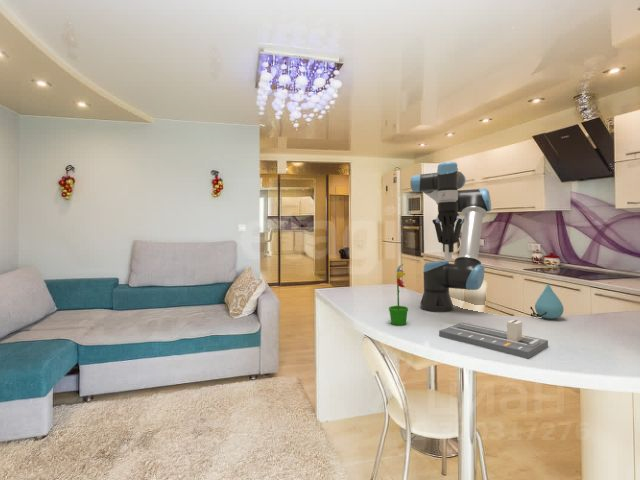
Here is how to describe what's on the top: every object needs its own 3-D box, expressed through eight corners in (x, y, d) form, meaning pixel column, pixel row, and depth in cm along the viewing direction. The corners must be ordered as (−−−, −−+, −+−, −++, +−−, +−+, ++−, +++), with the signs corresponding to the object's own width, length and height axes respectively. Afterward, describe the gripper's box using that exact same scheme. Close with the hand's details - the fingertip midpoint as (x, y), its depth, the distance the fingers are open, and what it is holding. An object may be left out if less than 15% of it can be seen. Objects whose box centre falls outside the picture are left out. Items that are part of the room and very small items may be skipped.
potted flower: (408, 326, 141) (407, 265, 141) (389, 326, 143) (387, 265, 142) (407, 320, 151) (406, 262, 150) (389, 320, 152) (388, 262, 151)
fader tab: (512, 337, 118) (512, 319, 118) (522, 339, 116) (521, 320, 115) (507, 340, 116) (507, 321, 115) (516, 342, 113) (516, 323, 113)
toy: (536, 312, 159) (536, 279, 158) (567, 316, 151) (567, 281, 150) (527, 319, 149) (527, 283, 148) (559, 323, 140) (559, 286, 140)
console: (462, 327, 139) (462, 319, 138) (547, 346, 115) (547, 336, 115) (439, 336, 129) (439, 327, 128) (528, 358, 105) (528, 348, 105)
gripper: (428, 202, 143) (428, 260, 144) (457, 200, 133) (458, 262, 133) (438, 203, 147) (439, 258, 148) (468, 200, 137) (468, 260, 138)
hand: (448, 260), depth 141 cm, fingers closed
